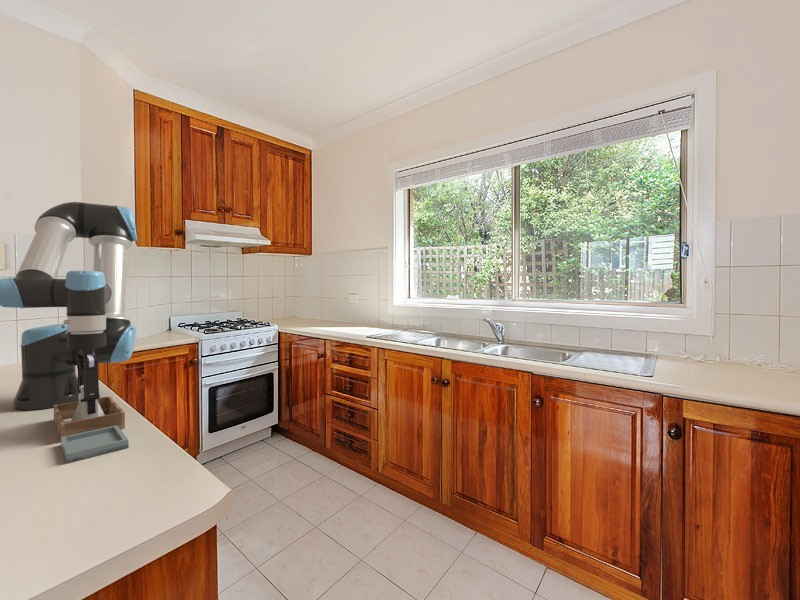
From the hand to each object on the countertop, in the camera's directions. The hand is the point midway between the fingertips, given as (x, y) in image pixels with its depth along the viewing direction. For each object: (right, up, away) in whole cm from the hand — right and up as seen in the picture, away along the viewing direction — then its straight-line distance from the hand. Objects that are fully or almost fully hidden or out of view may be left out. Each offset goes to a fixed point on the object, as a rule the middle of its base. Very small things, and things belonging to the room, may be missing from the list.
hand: (88, 421), depth 93 cm
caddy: (0, -1, 0) cm, 1 cm away
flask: (0, -1, 0) cm, 1 cm away
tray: (+12, -1, -13) cm, 18 cm away
